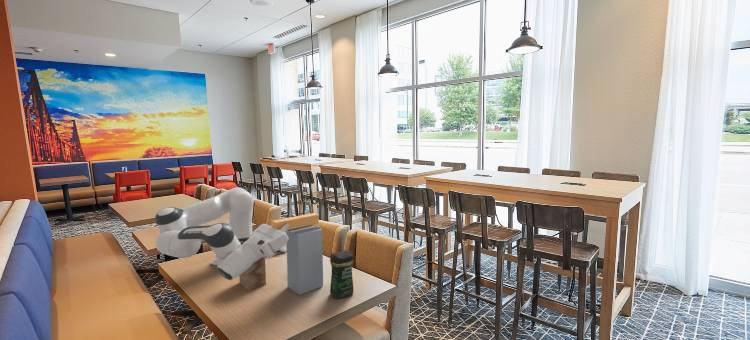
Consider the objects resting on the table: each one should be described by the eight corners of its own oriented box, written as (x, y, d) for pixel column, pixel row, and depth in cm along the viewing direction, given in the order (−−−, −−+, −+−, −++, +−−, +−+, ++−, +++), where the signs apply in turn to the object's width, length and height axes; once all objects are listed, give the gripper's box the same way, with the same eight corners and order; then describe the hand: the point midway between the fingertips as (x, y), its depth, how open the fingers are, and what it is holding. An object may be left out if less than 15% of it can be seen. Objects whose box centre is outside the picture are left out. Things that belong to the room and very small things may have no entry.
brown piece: (248, 289, 151) (247, 256, 149) (239, 282, 158) (238, 250, 157) (266, 284, 156) (264, 252, 155) (256, 277, 164) (255, 246, 162)
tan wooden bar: (276, 232, 140) (276, 222, 140) (272, 230, 143) (271, 220, 143) (318, 223, 154) (318, 214, 153) (313, 221, 156) (313, 213, 156)
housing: (299, 294, 146) (297, 232, 143) (287, 286, 154) (286, 227, 151) (323, 286, 155) (322, 227, 152) (311, 279, 162) (309, 222, 159)
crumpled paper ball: (265, 252, 198) (265, 236, 197) (280, 245, 209) (279, 231, 208) (280, 255, 193) (280, 239, 192) (295, 248, 204) (294, 234, 203)
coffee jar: (337, 301, 141) (336, 257, 139) (327, 293, 147) (326, 251, 145) (356, 294, 147) (356, 251, 145) (346, 287, 153) (346, 246, 151)
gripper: (251, 245, 146) (276, 224, 153) (273, 258, 131) (300, 234, 138) (243, 234, 143) (269, 213, 151) (265, 246, 128) (293, 222, 136)
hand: (284, 223), depth 144 cm, fingers closed on tan wooden bar, 4 cm apart
